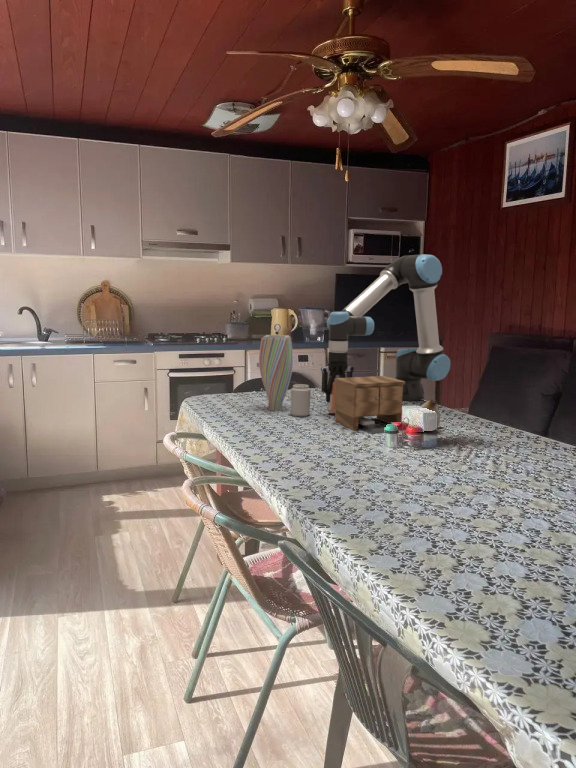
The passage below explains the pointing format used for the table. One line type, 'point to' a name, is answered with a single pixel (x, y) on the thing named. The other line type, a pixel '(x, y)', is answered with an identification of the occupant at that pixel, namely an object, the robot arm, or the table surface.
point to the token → (374, 428)
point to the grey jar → (300, 400)
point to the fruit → (432, 408)
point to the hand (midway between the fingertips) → (336, 409)
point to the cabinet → (368, 399)
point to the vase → (276, 367)
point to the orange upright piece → (360, 420)
